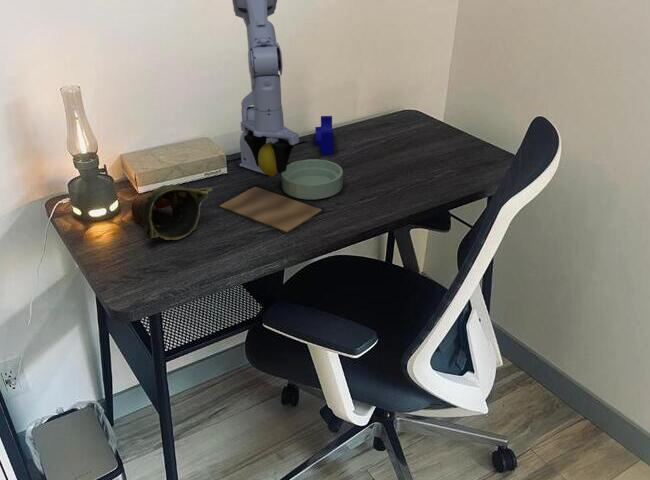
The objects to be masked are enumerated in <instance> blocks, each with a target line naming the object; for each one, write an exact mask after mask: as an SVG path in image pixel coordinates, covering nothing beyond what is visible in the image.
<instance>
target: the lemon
mask: <svg viewBox="0 0 650 480" xmlns="http://www.w3.org/2000/svg"><path fill="white" fill-rule="evenodd" d="M271 144H273V143H272V142H268V143H267V144H265V145H263V146H262V147H261V149H260V151H259V154H258V163H259V167H260V169H261V170H262V172H263V173H265V174H267V176H269V177H271V178H273V177H274V176H275V175H277V174H279V173H278V172H277V166H276V158H275V154H274V151H273V148H272V146H271ZM265 174H264V175H265Z"/></svg>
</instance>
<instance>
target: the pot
mask: <svg viewBox="0 0 650 480" xmlns="http://www.w3.org/2000/svg"><path fill="white" fill-rule="evenodd" d="M212 190H213V187H212V186H206V187H201V188H192V187H186V186H182V185H179V184H174V183H173V184H172V183H171V184H168V185H165V184H164V185H161V186H159V187H158V188H156V189H154V190H153V191H152V192H149V193H145V194H142V195H140V196H138V197H136V198H134V200H133V201H132V203H131V208H130V209H131V215H132V218H134V219H135V221H136V222H138V223H139V224H141V226H143V229H144V236H145V240H148V241H149V240H151V239H153V238H154V239H155V238H159V237H160V238H161V239H164V240H168V241H170V240H173V241H175V240H180V239H183V238H185V237H186V236H188V235H190V234H191V233H192V231H194V230H195V228H196V227H197V225H198V222H199V218H200V214H201V212H200V211H201V204H202V203H203V201H205V200H206V199H207V198H208V197H209V194H208V193H209V192H212ZM167 207H170V208H171V222H169V223H168V224H167V225H166V226H162V225H157V224H156V221H155V218H154V215H153V209H154V208H155V210H156V212H158V211H159V209H160V210H161V209H165V208H167Z"/></svg>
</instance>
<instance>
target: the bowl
mask: <svg viewBox="0 0 650 480" xmlns="http://www.w3.org/2000/svg"><path fill="white" fill-rule="evenodd" d="M343 171H344V170H343V168H342V166H341V165H339V164H337V163H336V162H334V161H330V160H326V159H318V158H312V159H311V158H309V159H301V160H296V161H294V162H290V163H289V164H287V168H286V171H284V172H283V173H280V175H281V176H280V178H281V189H282V190H283V192H284V193H286V195H288V196H290V197H293V198H296V199H300V200H321V199H327V198H331V197H333V196H335V195H337V194H338V193H340V192H341V191H342V189H343V187H344V186H343V184H344V183H343V182H344V175H343V174H344V172H343Z"/></svg>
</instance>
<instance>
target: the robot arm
mask: <svg viewBox="0 0 650 480" xmlns="http://www.w3.org/2000/svg"><path fill="white" fill-rule="evenodd" d="M231 1H232V6H233V7H232V8H233V12H234V15H235V16H236V17H237V18H240V19H242V20H243V23H244V25H245V28H246V38H247V39H246V40H247V50H248V51H247V63H248V72H249V76H250V77H249V78H250V89H251V91H250V92H249V93H248V94H246V96H244V97H243V98H242V101H241V105H240V106H241V111H240V112H241V121H240V130H241V131H242V133H241V135H240V138H239V147H240V148H239V150H240V160H241V161H240V163H239V167H241V168H244V169H248V170H251V171H252V172H256V173H259V174H263V175H267V174H265V173H263V172H262V170H261V169H260V167H259V163H258V154H259V151H260V149H261V147H262V146H263V145H265V144H267V143H268V142H272V143H273V144H271V146H272V148H273V151H274V154H275V158H276V166H277V172H278V174H281V173H283V172H284V171H286V168H287V165H288V163H289V159H290V156H291V153H292V151H293V148H294V147H295V146H296V144H299V143H300V134H299V133H298V132H295V131H293V130H291V129H290V128H288V127H286V126H284V125H285V121H284V111H283V104H282V103H283V102H282V86H281V85H282V84H281V83H282V82H281V76H282V75H283V69H284V68H283V65H284V64H283V54H282V50H281V45H280V44H279V42H277V36H276V31H275V26H274V24H273V23H272V22H271V21H270V20H268V17H270V16H272V15H274V14H275V11H276V9H277V3H278V0H231ZM267 176H268V175H267Z"/></svg>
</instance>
